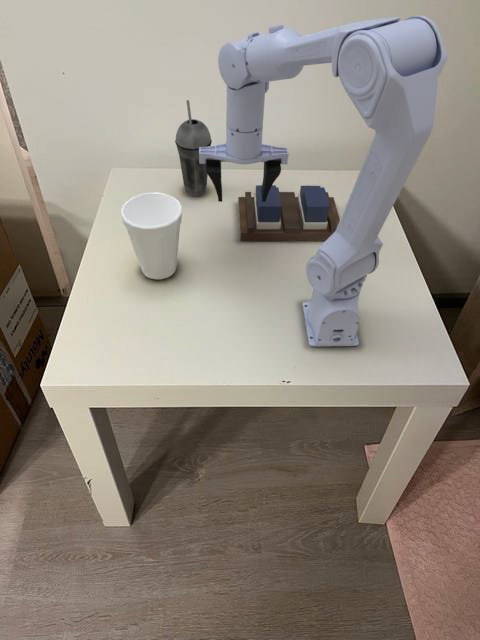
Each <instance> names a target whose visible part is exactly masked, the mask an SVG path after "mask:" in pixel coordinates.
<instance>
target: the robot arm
mask: <svg viewBox="0 0 480 640" xmlns="http://www.w3.org/2000/svg"><path fill="white" fill-rule="evenodd" d="M400 20H401V17H384V18H375V19H366V20H359V21H355V22H350V23H346V24H343V25H338V26H335V27H331V28H328V29H324V30H321V31H317V32H314V33H310V34H306V35H303V36H301V34H300V33H299V32H298V31H297V30H295V29H294V28H291V27H286V28H285V27H284V24H283V23H279V24H276V25H272V26H269V27H268V32H265V33H262V34H260V32H259V31H256V32H251V33H249V34H247V38H244V39H240V40H235V41H227V42H226V43H225V44H223V45H221V47H220V49H219V52H218V57H217V58H218V59H217V62H218V69H219V73H220V76H221V78H222V80H223V83H224V84H225V85H226V115H225V116H226V120H225V121H226V122H225V124H226V127H225V128H226V131H225V132H226V133H225V135H226V136H225V137H226V138H225V139H226V140H225V141H226V143H220V144H215V145H211V146H209V147H199V163H200V164H205V163H206V171H207V174H208V176H207V177H209V179H210V181H211V182H212V184H213V187H214V190H215V192H216V195H217V201H218V202H221V203H222V202H223V185H222V184H223V183H222V163H223V162H224V163H232V164H237V165H252V164H257V163H263V177H262V184H261V185H262V191H261V197H262V202H266V199H267V196H268V193H269V191H270V188H271V186H272V185H274V183H275V182H276V181H277V179H278V177H279V176H280V175H281V173H282V165H288V164H289V163H288V162H289V155H290V154H289V149H288V147H281V146H274V145H269V144H263V129H264V115H265V114H264V113H265V100H266V99H265V98H266V93H267V92H268V91H269V90H270V83H271V82H277V81H284V80H291V79H294V78H296V77H297V76H298V75H300V73H301V72H302V70H303V69H304V66H313V65H322V64H331V70H332V76H333V77H335V78H338V77H339V80H340V83H341V85H342V87H343V89H344V91H345V93H346V94H347V96H348V98H349V99H350V101H351V102H352V104H353V105H354V107H355V108H356V110H357V111H358V113H359V115H360V116H361V118H362V120H363V121H364V123H365V124H366V125H367V127H368V128H370V129H372V130H374V132H375V134H374V137H373V139H372V142H371V144H370V146H369V148H368V152H367V154H366V156H365V159H364V161H363V164H362V166H361V168H360V171H359V173H358V175H357V178H356V180H355V183H354V186H353V188H352V190H351V192H350V195H349V197H348V200H347V202H346V205H345V207H344V208H343V209H344V210H343V211H342V213H341V217H340V221H339V224H338V226H337V229H336V231H335V232H334V233H333V234H332V235H331V236H330V237H329V238H328V239H327V240H326V241H323V243H322V244H320V246H319V247H318V249H317V251H316V253H315V255H313V256H311V257H309V258H308V260H307V261H306V265H305V272H306V273H305V274H306V277H307V278H306V279H307V280H308V282H309V285H310V286H311V287H312V290H311V296H310V301H302V304H301V305H302V312H303V317H304V324H305V330H306V335H307V341H308V345H309V347H358V346H359V345H360V341H359V338H358V333H357V332H358V330H359V326H360V323H361V315H360V310H359V298H360V295H361V292H362V288H363V285H364V283H365V281H366V279H367V276H368V275H371V274H372V273H374V272H375V271H376V270H377V269H378V267H379V263H380V251H381V249H382V247H383V242H382V239H380V237H379V235H380V232H381V230H382V228H383V226H384V225H385V222H386V220H387V219H388V216H389V215H390V212H391V211H392V209H393V207H394V205H395V203H396V201H397V199H398V198H399V196H400V194H401V192H402V190H403V188H404V186H405V184H406V183H407V180H408V178H409V177H410V175H411V173H412V170H413V169H414V167H415V165H416V163H417V161H418V159H419V157H420V155H421V154H422V151H423V149H424V147H425V146H426V144H427V142H428V140H429V139H430V136H431V134H432V131H433V129H434V123H435V113H436V112H435V111H436V101H437V93H438V92H437V91H438V81H439V77H440V75H441V73H442V71H443V69H444V67H445V65H446V63H447V60H448V54H447V50H446V48H445V45H444V41H443V38H442V35H441V32H440V30H439V28H438V26H437V24H436V23H435V22H434V21H433V20H432V19H431V18H429V17H428V16H425V15H413V16H410V17H408V18H405V19H403V20H401V21H400Z"/></svg>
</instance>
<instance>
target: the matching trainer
mask: <svg viewBox="0 0 480 640" xmlns="http://www.w3.org/2000/svg"><path fill="white" fill-rule="evenodd" d="M326 192H327V191H326V188H325V187H324V186H323V187H321V185H300V189H299V193H297V197H298V198H297V201H298V206H299V211H300V216H301V221H302V226H303V229H327V225H328V222H327V217H328V212H329V207H330V206H329V203H328V199H327V195H326Z"/></svg>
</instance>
